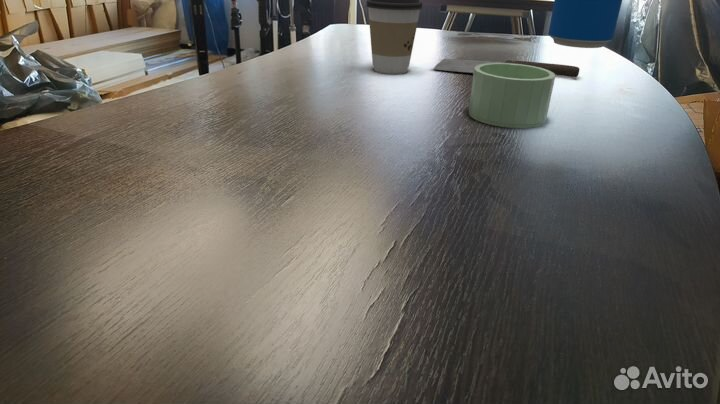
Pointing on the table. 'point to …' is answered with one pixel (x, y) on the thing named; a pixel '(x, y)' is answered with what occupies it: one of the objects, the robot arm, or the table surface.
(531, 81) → the canister
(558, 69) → the cleaver
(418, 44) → the table surface
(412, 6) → the coffee cup
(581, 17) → the beverage can
